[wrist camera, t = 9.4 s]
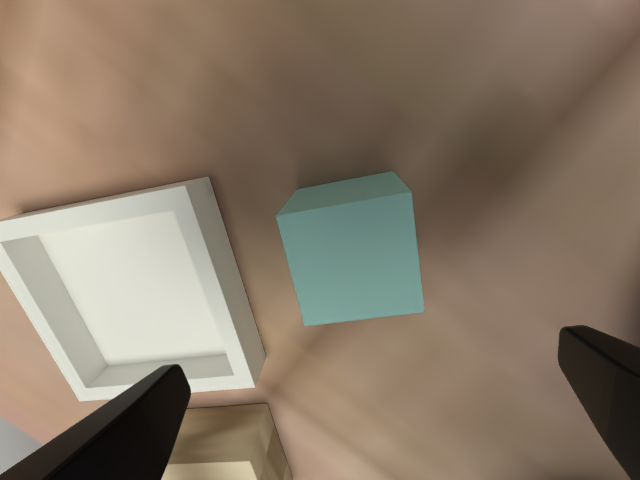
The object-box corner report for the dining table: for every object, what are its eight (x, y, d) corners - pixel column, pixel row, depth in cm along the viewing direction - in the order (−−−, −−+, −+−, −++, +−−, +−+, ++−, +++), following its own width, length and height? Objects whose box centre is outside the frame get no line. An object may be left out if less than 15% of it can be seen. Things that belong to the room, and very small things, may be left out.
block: (393, 170, 15) (411, 191, 11) (404, 260, 17) (424, 312, 12) (297, 189, 16) (275, 216, 12) (316, 273, 18) (304, 326, 13)
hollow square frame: (267, 403, 22) (249, 461, 18) (292, 478, 24) (282, 542, 21) (165, 410, 23) (129, 465, 19) (200, 481, 26) (174, 542, 22)
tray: (208, 176, 16) (184, 185, 14) (266, 357, 20) (255, 387, 18) (21, 213, 18) (-27, 226, 16) (108, 372, 22) (79, 401, 20)
